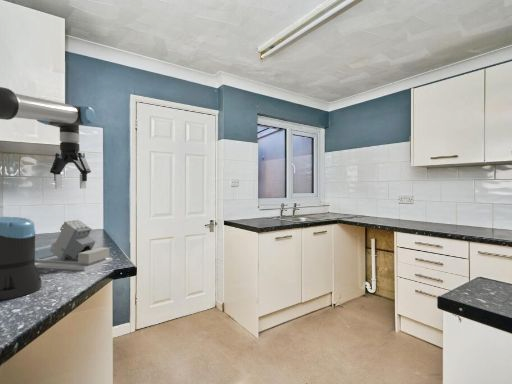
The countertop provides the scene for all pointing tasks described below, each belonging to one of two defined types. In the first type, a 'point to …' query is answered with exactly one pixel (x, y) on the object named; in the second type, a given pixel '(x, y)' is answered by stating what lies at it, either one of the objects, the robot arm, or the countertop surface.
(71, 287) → the countertop surface
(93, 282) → the countertop surface
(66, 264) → the rail board
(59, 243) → the circuit breaker
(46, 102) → the robot arm
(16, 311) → the countertop surface
